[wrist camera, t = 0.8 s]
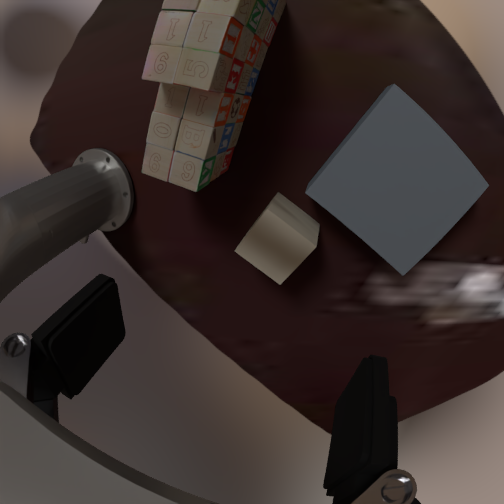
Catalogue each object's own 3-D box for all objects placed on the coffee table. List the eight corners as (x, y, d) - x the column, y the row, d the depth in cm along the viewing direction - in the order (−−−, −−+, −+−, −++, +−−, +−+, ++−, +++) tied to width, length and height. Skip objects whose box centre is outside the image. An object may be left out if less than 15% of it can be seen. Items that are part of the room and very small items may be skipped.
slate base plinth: (397, 258, 33) (402, 276, 30) (308, 183, 32) (305, 192, 29) (474, 176, 26) (489, 185, 22) (387, 86, 25) (394, 83, 21)
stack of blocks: (229, 171, 34) (180, 205, 23) (182, 155, 34) (119, 181, 24) (287, 1, 23) (260, -49, 12) (233, -9, 23) (184, -52, 13)
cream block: (288, 258, 37) (280, 284, 32) (249, 229, 37) (234, 251, 31) (319, 224, 34) (316, 246, 29) (278, 191, 33) (267, 208, 28)
